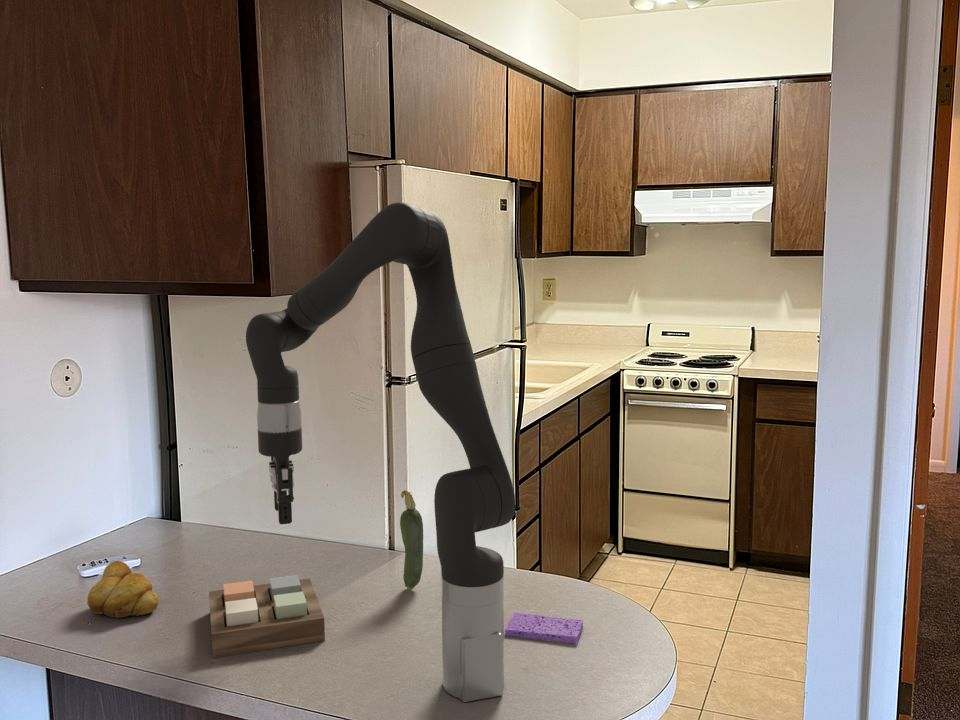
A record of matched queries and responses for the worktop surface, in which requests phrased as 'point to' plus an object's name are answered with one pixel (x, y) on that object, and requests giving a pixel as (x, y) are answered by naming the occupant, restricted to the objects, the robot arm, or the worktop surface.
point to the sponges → (544, 627)
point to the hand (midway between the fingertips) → (283, 516)
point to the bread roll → (122, 593)
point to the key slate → (284, 585)
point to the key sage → (290, 605)
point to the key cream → (241, 612)
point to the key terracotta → (238, 591)
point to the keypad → (265, 624)
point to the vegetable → (412, 541)
